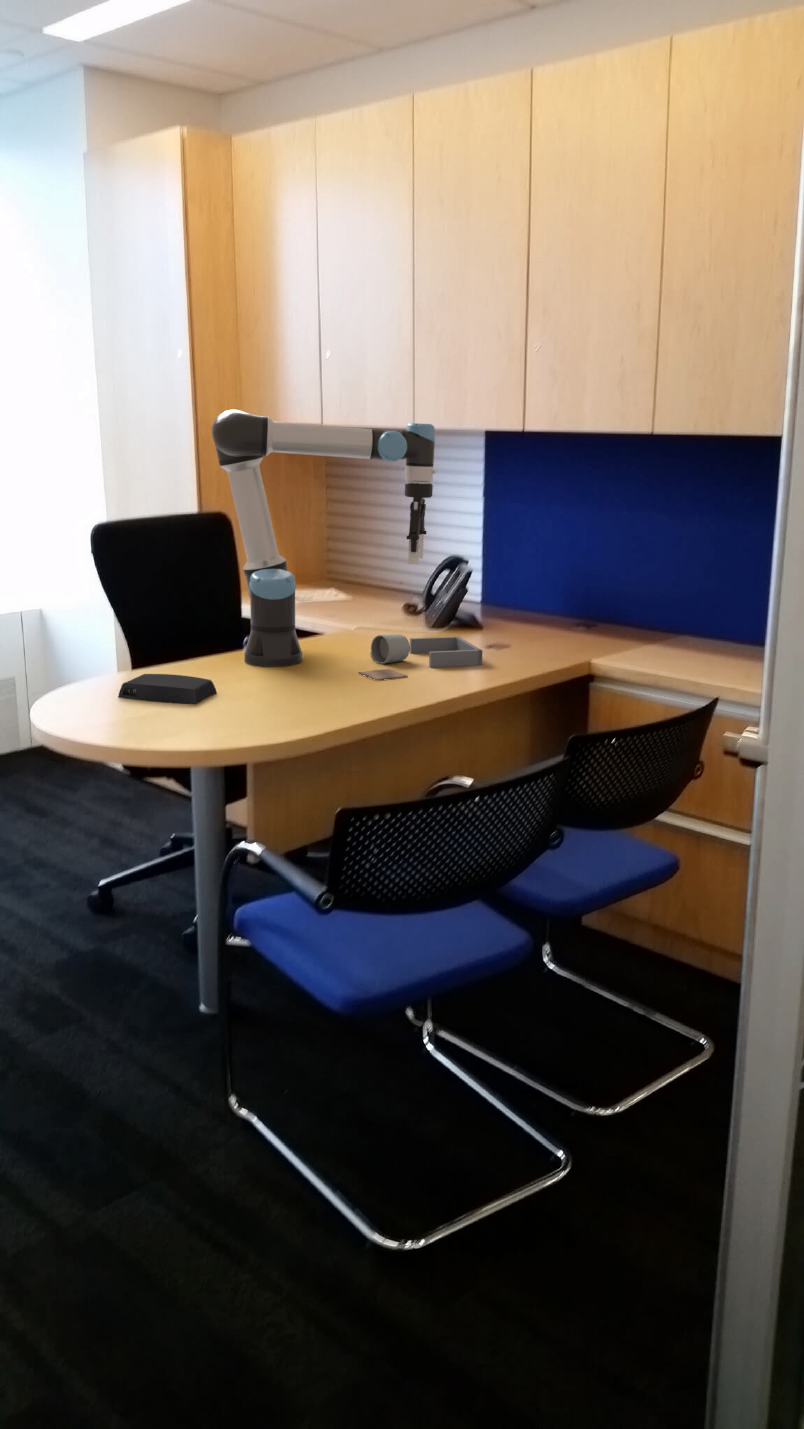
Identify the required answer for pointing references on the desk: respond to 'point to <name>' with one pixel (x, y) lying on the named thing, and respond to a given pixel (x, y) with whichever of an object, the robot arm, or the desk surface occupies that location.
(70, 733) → the desk surface
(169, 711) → the desk surface
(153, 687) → the external hard drive
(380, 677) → the walnut coaster
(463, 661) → the grey c-shaped bracket
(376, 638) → the ceramic mug
